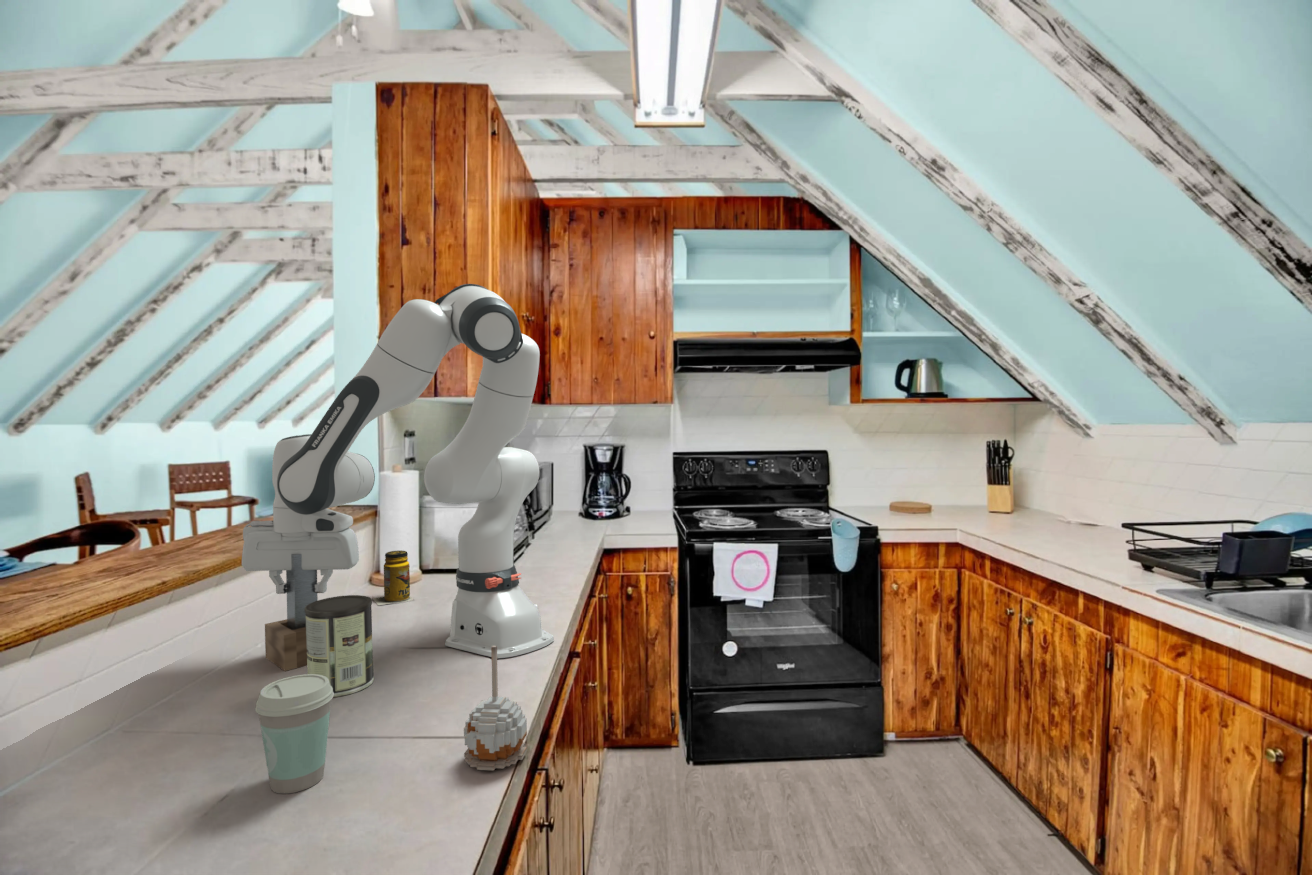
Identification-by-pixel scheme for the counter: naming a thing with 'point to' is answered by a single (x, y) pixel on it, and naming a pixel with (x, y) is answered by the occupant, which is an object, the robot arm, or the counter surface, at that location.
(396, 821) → the counter surface
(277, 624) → the walnut holder
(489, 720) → the voxel caramel apple
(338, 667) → the coffee can
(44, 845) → the counter surface
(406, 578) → the condiment
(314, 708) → the coffee cup
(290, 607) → the steel bar
